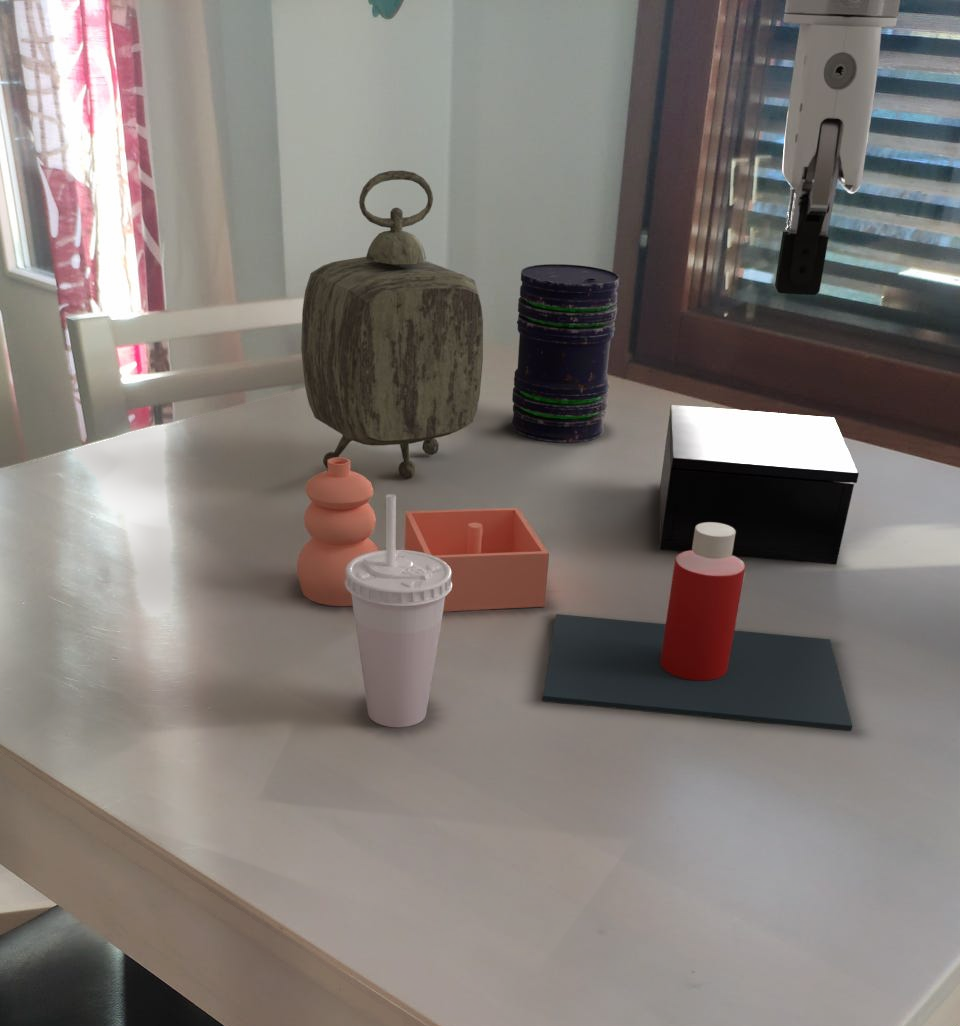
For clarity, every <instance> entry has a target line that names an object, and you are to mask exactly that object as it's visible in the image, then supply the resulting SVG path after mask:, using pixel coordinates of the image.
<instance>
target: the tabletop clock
mask: <svg viewBox="0 0 960 1026" xmlns="http://www.w3.org/2000/svg"><path fill="white" fill-rule="evenodd" d="M398 180H401V181H402V180H404V181H411V182H413V183H416V184H418V185H419V186H420V187H421V188H422V190H424V192H425V194H426V198H427V202H426V205H425V207H424V208H423V209H422V210H421V211H419V212H418V213H416V214H413V215H411V216H406V217H403V216H404V215H403V213H404V212H403V210H402V209H401V208H400V207H394V208H392V209H391V210H390V217H389V218H387V217H386V218H385V217H384V218H383V217H380V216H376V215H373V214H372V213H371V212H370V211H368V210H367V208H366V198H367V196H368V194H369V192H370V191H371V190H372V189H374V187H375V186H377V185H379V184H381V183H384V182H388V181H398ZM433 202H434V194H433V191H432V188H431V186H430V184H429V183H428V181H427V180H426V179H425V178H424V177H422V176H421V175H419V174H417V173H415V172H413V171H407V170H402V169H401V170H388V171H383V172H379V173H377V174H376V175H374V176H373V177H371V178H370V179H369V180H368V181H367V182H366V183H365V185H364V186H363V187H362V189H361V192H360V194H359V199H358V204H359V209H360V211H361V214H362V216H363V217H365V218H366V220H367V221H368V222H369V223H371V224H374V225H376V226H379V227H383V228H387V229H388V228H389V230H385V231H382V232H379V233H378V234H377V235H376V237H374V238H373V240H372V241H371V243H370V245H369V247H368V248H367V253H366V255H365V256H361V257H354V258H348V259H342V260H337V261H332V262H329V263H327V264H326V263H325V264H323V265H322V266H320V267H318V268H317V269H315V270H313V271H311V272H310V274H309V278H308V281H307V283H306V287H305V290H304V296H303V303H302V310H301V311H302V312H301V313H302V315H301V346H300V347H301V361H302V370H303V380H304V388H305V393H306V398H307V402H308V406H309V407H310V409H311V412H312V415H313V417H314V419H316V420H318V421H319V422H321V423H323V424H324V425H326V426H328V427H329V428H331V429H333V430H334V431H336V432H337V433H338V434H340V435H342V436H341V438H340V439H339V442H338V444H337V446H336V448H335V450H334V451H328V452H327V453H325V454H324V456H323V459H322V463H323V465H324V467H325V468H326V469H328V462H327V461H328V459H330V458H335V457H340V455H341V454H342V453H343V451H344V450H345V449H346V448H347V446H349V444H350V443H351V442H352V441H353V442H356V443H359V444H362V445H366V446H371V447H372V446H373V447H374V446H375V447H376V446H393V445H395V446H396V445H399V448H400V451H401V455H402V461H401V462H400V463H399V464H398V475H400V477H401V478H403V479H408V480H409V479H411V478H413V477H414V476H415V474H416V471H417V467H416V465H415V463H414V462H413V461H411V460H410V445H409V444H416V443H420V442H422V448H421V449H422V451H423V452H424V453H425V454H426V455H428V456H433V455H435V454H437V453H438V451H439V448H440V443H439V442H438V440H437V438H441V437H446V436H449V435H452V434H453V433H456V432H458V431H460V430H462V429H464V428H466V427H467V426H469V425H470V424H472V423H473V422H474V419H475V416H476V413H477V411H478V406H479V402H480V395H481V385H482V374H483V373H482V372H483V362H484V318H483V308H482V302H481V298H480V297H481V296H480V294H479V291H478V287H477V283H476V281H475V279H473V278H471V277H468V276H466V275H464V274H462V273H460V272H457V271H455V270H451V269H449V268H446V267H444V266H442V265H438V264H436V263H433V262H430V261H427V260H426V259H427V255H426V252H425V248H424V246H423V244H422V242H421V241H420V239H418V237H417V236H416V235H414V234H413V233H410V232H408V231H405V230H403V228H406V227H409V226H413V225H415V224H417V223H419V222H421V221H422V220H424V219H425V218H426V216H427V215H428V214H429V213H430V211H431V209H432V207H433Z"/></svg>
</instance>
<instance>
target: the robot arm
mask: <svg viewBox="0 0 960 1026" xmlns="http://www.w3.org/2000/svg"><path fill="white" fill-rule="evenodd" d="M900 3H901V0H785V6H784V13H783V20H782V22H783V23H785V24H797V25H798V24H799V30H798V36H797V43H796V50H795V56H794V62H793V70H792V76H791V82H790V84H791V85H790V91H789V98H788V106H787V114H786V121H785V122H786V124H785V133H784V141H783V154H782V168H781V169H782V176H783V177H784V179H785V181H786V182H787V183H788V185H789V186H790V192H789V199H788V205H787V206H788V207H787V214H786V221H785V230H783V231H782V234H781V236H782V237H781V239H780V240H781V242H780V249H779V255H778V261H777V268H776V273H775V274H776V275H775V282H774V287H775V288H776V289H775V290H776V291H777V293H779V294H784V295H785V294H788V295H806V296H816V295H817V294H819V293H820V290H821V286H822V280H823V273H824V268H825V267H824V266H825V262H826V261H825V260H826V255H827V249H828V243H829V238H830V237H829V235H828V233H829V229H830V223H831V217H832V213H833V207H834V202H835V197H836V191H837V185H838V183H839V185H840V186H841V187H842V188H843V189H844V190H845V191H846V192H847V193H848V194H855V193H856V192H857V191H858V190H859V189H860V188H861V186H862V183H863V175H864V169H865V162H866V156H867V149H868V148H867V147H868V141H869V134H870V126H871V120H872V114H873V107H874V102H875V100H874V99H875V93H876V87H877V80H878V79H877V78H878V70H879V63H880V50H881V40H882V28H896V27H897V21H898V16H899V14H898V13H899V10H900V5H901V4H900Z"/></svg>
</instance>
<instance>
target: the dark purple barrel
mask: <svg viewBox="0 0 960 1026" xmlns="http://www.w3.org/2000/svg"><path fill="white" fill-rule="evenodd" d="M520 282H521V285H520V287H519V297H518V300H517V301H518V302H517V312H518V315H517V321H516V324H517V331H518V333H519V340H518V353H517V354H518V355H517V368H516V370H514V377H513V386H514V387H513V388H512V398H511V400H512V412H513V417H512V419H511V428H512V430H513V431H514V432H516V433H518V434H519V435H522V436H524V437H526V438H530V439H532V440H533V439H534V440H537V441H544V442H551V443H580V442H581V443H582V442H590V441H592V440H595V439H598V438H600V437H601V436H602V435H603V434H604V429H605V425H604V419H605V417H606V410H607V408H608V401H609V394H608V392H609V387H610V377H609V375H608V369H609V358H610V348H611V340H612V339H613V338H614V334H615V331H616V327H615V323H616V319H617V314H618V313H617V312H618V304H617V302H618V292H617V289H618V287H619V282H620V276H619V275H618V274H617V273H615V272H613V271H611V270H608V269H604V268H600V267H599V268H598V267H594V266H587V265H580V264H563V263H551V264H550V263H547V264H535V265H530V266H529V265H528V266H526V267H523V268H522V269H521V271H520Z"/></svg>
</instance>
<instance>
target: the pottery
mask: <svg viewBox="0 0 960 1026" xmlns="http://www.w3.org/2000/svg"><path fill="white" fill-rule="evenodd" d="M327 462H328V468H327V470H325V471H322V472H318V473H317V474H315V475H314V476H312V477H311V478H310V479H309V480H308V481H307V483H306V486H305V490H304V491H305V494H306V496H307V498H308V499H309V501H310V503H309V504H308V506H307V508H306V509H305V512H304V516H303V522H304V527H305V530H307V533H308V534H309V536H311V538H310V539H309V540H308V541H307V542H306V543H305V544H304V546H303V547H302V549H301V550H300V552H299V554H298V558H297V562H296V574H297V577H298V581H299V582H298V583H299V585H300V588H301V592H302V594H303V596H304V597H305V598H306V599H307V600H310V601H312V602H314V603H317V604H319V605H325V606H331V607H353V603H352V595H351V593H350V592H349V591H348V590H347V589H346V586H345V580H346V566H347V565H348V563H349V562H350V561H352V560H353V559H354V558H356V557H358V556H360V555H363V554H366V553H370V552H375V551H380V550H379V548H378V546H377V545H376V544H375V543H374V542H373V541H372V540H371V539H370V538H369V537H371V536H372V534H373V532H374V530H375V529H376V521H377V517H376V514H375V511H374V509H373V507H372V506H371V505H370V503H369V502H370V500H371V498H372V497H373V495H374V488H373V485H372V482H371V481H370V480H368V478H366V477H365V476H364V475H362V474H361V473H358V472H356V471H353V470H351V460H350V459H349V458H347V457H342V456H339V457H335V458H330V459H328V461H327ZM404 515H405V516H404V550H409V551H416V552H421V553H425V554H429V555H432V556H434V557H437V558H439V559H441V560H442V561H444V562H445V563H446V564H447V565H448V566H449V567H450V569H451V572H452V573H451V582H452V589H451V591H450V592H449V593H448V594H447V596H445V601H444V608H443V612H459V611H482V610H502V609H503V610H504V609H523V608H540V607H541V608H545V606H546V596H547V585H548V571H549V558H550V553H549V551H548V549H547V548H546V547H545V545H544V544H543V542H542V541H541V539H540V538H539V536H538V535H537V533H536V532H535V529H533V527H532V526H531V525H530V523H529V521H528V520H527V518H526V517H525V515H524V514H523V513H522V511H521V510H520V507H500V508H499V507H497V508H496V507H495V508H467V509H437V510H435V509H434V510H405V512H404Z"/></svg>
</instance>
